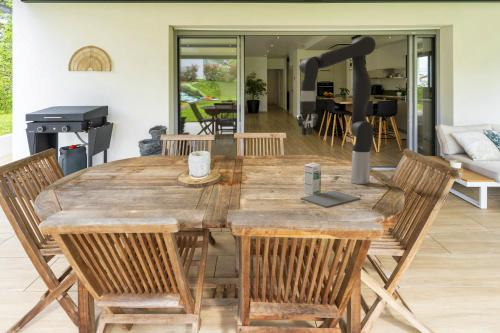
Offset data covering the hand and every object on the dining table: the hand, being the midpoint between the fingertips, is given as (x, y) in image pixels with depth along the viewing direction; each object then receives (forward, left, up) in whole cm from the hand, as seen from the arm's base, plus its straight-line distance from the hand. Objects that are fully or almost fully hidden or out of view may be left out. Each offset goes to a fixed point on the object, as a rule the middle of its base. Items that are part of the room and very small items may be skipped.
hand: (307, 134), depth 192 cm
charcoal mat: (+6, +23, -27) cm, 36 cm away
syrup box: (+6, +11, -27) cm, 30 cm away
